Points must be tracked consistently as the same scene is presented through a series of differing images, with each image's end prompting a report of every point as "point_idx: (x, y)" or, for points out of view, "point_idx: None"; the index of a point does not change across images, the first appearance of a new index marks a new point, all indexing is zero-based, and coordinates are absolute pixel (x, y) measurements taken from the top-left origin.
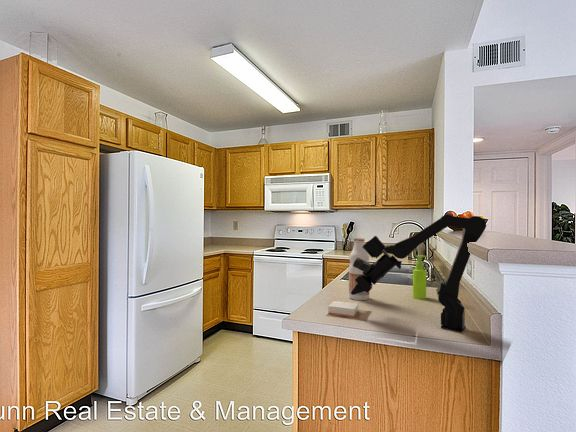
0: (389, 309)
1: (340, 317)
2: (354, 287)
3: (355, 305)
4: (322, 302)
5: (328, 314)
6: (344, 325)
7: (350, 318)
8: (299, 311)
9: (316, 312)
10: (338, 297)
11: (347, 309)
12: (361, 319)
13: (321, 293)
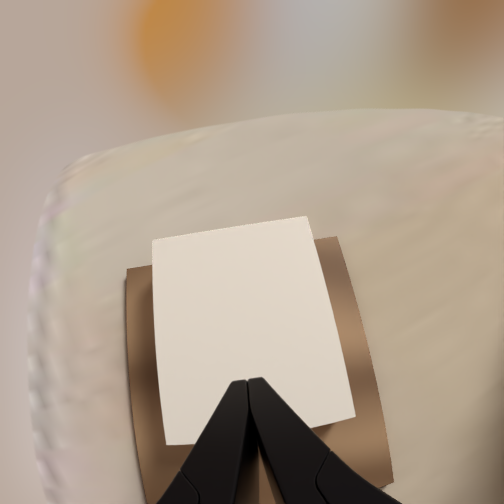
0: (498, 499)
1: (131, 359)
2: (188, 455)
3: None
4: (382, 150)
5: None
6: (55, 409)
7: (144, 423)
8: (171, 139)
9: (192, 196)
10: (498, 183)
11: (163, 389)
12: (164, 490)
13: (474, 116)
